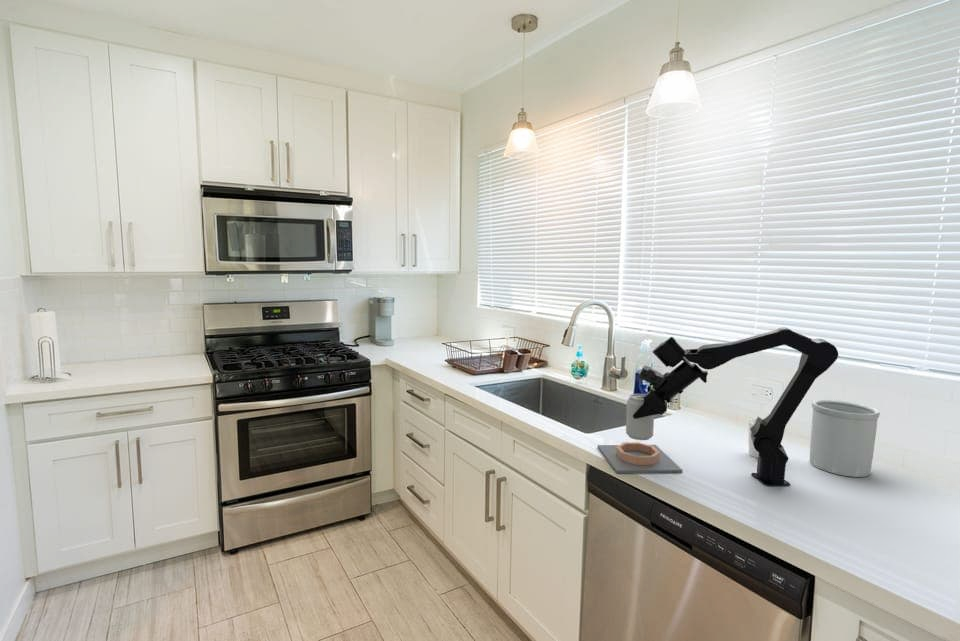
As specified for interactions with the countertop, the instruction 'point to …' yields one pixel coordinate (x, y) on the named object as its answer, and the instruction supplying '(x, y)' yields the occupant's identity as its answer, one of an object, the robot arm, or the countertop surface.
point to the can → (640, 426)
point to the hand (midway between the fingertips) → (635, 413)
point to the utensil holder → (843, 437)
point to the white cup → (751, 447)
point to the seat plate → (638, 458)
